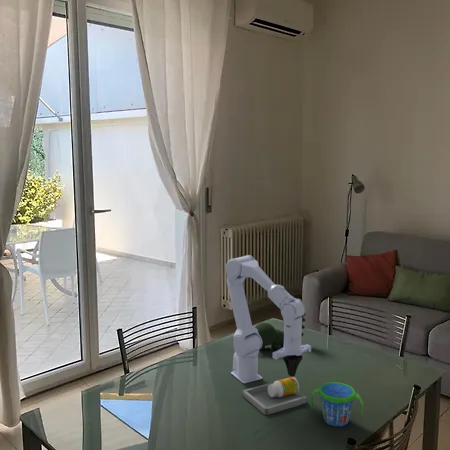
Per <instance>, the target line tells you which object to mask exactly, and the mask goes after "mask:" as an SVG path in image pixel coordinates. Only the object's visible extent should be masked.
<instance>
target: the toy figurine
mask: <svg viewBox="0 0 450 450" xmlns="http://www.w3.org/2000/svg"><path fill="white" fill-rule="evenodd" d="M306 315H307V313H306V312H305V314H304V315H303V316H301V317H302V330H304V329H305V325H304V324H303V323H304V322H306V318H305V316H306ZM254 327H255V328H256V329H257V330H258V333H259V335H260V337H261V339H262V347H261V348H260V349H259V351H263V350H264V349H265V348H266V347H267V346H270V345H271V346H273V348H274V349H275V350H280V349H281V347H284V330H280V329H278V328H275V327H274V326H273V325H272V324H271V323H270V322H269V323H268V322H265V321H264V322H260V323H258V324H257V325H256V326H254ZM303 336H304V333H303V332H302V333H301V338H302V337H303Z"/></svg>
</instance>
